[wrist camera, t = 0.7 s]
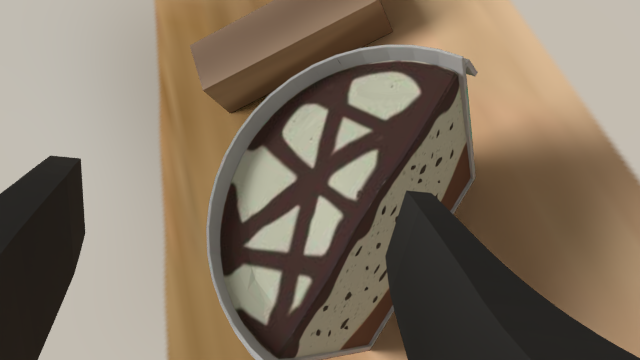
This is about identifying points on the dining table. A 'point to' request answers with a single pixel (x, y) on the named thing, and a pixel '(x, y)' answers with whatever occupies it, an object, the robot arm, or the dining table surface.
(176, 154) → the dining table surface
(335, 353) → the food container
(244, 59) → the walnut bar
